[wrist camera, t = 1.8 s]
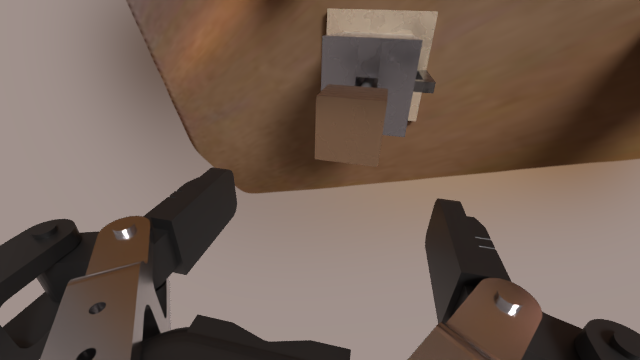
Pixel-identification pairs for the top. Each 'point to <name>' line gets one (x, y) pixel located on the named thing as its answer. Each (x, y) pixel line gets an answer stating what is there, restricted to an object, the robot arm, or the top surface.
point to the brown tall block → (350, 122)
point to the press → (381, 57)
